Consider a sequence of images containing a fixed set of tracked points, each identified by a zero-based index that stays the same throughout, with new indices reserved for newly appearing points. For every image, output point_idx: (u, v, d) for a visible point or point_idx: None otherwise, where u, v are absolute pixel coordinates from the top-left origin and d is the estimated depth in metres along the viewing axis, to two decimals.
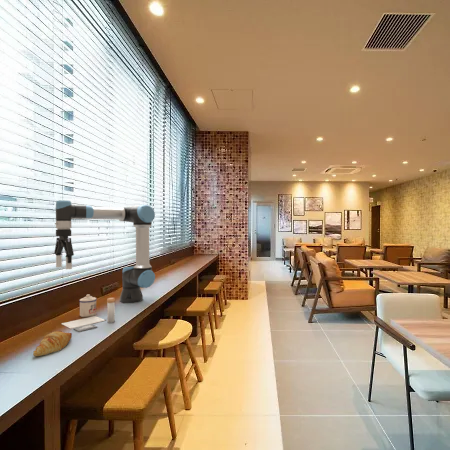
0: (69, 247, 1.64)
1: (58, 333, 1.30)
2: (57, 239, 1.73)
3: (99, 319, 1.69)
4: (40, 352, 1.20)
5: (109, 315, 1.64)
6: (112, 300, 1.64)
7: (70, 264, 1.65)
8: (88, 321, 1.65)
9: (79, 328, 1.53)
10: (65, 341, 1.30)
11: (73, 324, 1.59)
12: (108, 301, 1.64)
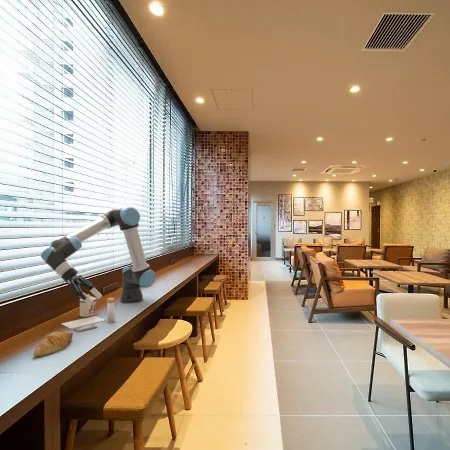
0: (72, 288, 1.56)
1: (58, 333, 1.29)
2: None
3: (99, 319, 1.69)
4: (40, 352, 1.20)
5: (109, 315, 1.64)
6: (112, 300, 1.64)
7: (88, 299, 1.57)
8: (88, 321, 1.65)
9: (79, 328, 1.53)
10: (65, 341, 1.29)
11: (73, 324, 1.59)
12: (108, 301, 1.64)
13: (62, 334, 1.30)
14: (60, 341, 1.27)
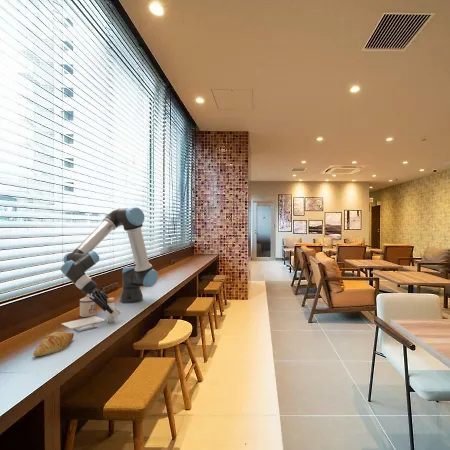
0: (98, 303, 1.60)
1: (59, 333, 1.29)
2: None
3: (99, 319, 1.69)
4: (40, 352, 1.20)
5: (109, 315, 1.64)
6: (112, 300, 1.64)
7: (114, 312, 1.63)
8: (88, 321, 1.65)
9: (79, 328, 1.53)
10: (66, 341, 1.29)
11: (73, 324, 1.59)
12: (108, 301, 1.64)
13: (63, 334, 1.30)
14: (60, 341, 1.27)
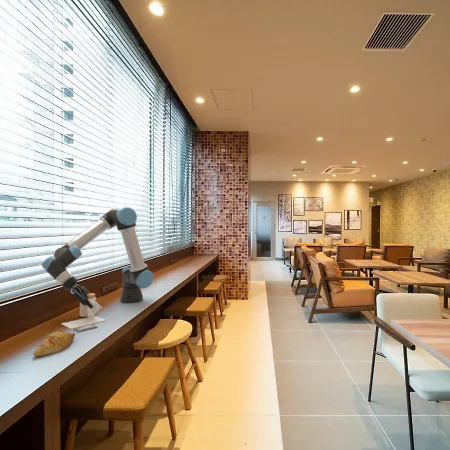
0: (78, 298, 1.64)
1: (60, 333, 1.29)
2: None
3: (99, 319, 1.69)
4: (40, 352, 1.20)
5: (89, 310, 1.68)
6: (92, 295, 1.68)
7: (94, 307, 1.67)
8: (88, 321, 1.65)
9: (79, 328, 1.53)
10: (66, 342, 1.29)
11: (73, 324, 1.59)
12: (88, 296, 1.68)
13: (63, 334, 1.29)
14: (61, 341, 1.27)
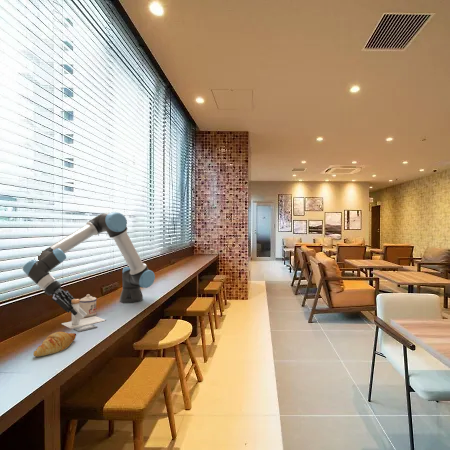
0: (61, 304, 1.54)
1: (60, 334, 1.29)
2: None
3: (99, 319, 1.69)
4: (40, 352, 1.20)
5: (73, 317, 1.58)
6: (76, 301, 1.58)
7: (78, 314, 1.57)
8: (88, 321, 1.65)
9: (79, 328, 1.53)
10: (67, 342, 1.28)
11: None
12: (72, 302, 1.58)
13: (64, 335, 1.29)
14: (61, 342, 1.26)
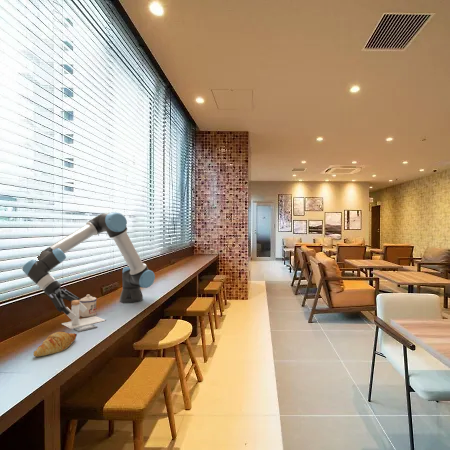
0: (55, 302, 1.51)
1: (60, 334, 1.29)
2: None
3: (99, 319, 1.69)
4: (40, 353, 1.20)
5: None
6: (76, 302, 1.58)
7: (71, 313, 1.52)
8: (88, 321, 1.65)
9: (79, 328, 1.53)
10: (67, 342, 1.28)
11: None
12: (72, 303, 1.58)
13: (64, 335, 1.29)
14: (61, 342, 1.26)
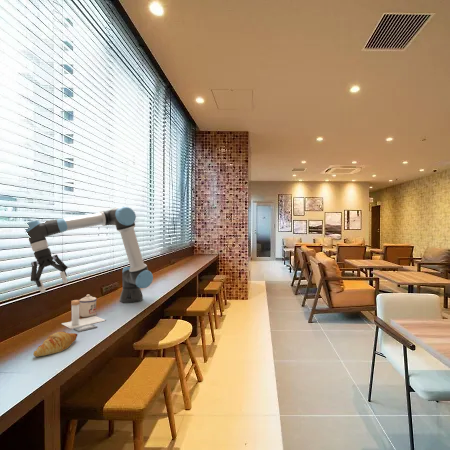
0: (32, 272, 1.58)
1: (61, 334, 1.29)
2: None
3: (99, 319, 1.69)
4: (40, 352, 1.20)
5: (73, 318, 1.58)
6: (76, 302, 1.58)
7: (42, 287, 1.59)
8: (88, 321, 1.65)
9: (79, 328, 1.53)
10: (67, 342, 1.28)
11: None
12: (72, 303, 1.58)
13: (64, 335, 1.29)
14: (61, 342, 1.26)
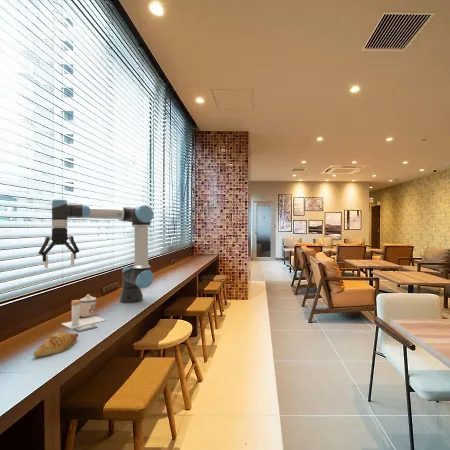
0: (42, 246, 1.65)
1: (61, 334, 1.28)
2: None
3: (99, 319, 1.69)
4: (40, 353, 1.19)
5: (73, 318, 1.58)
6: (76, 302, 1.58)
7: (45, 263, 1.65)
8: (88, 321, 1.65)
9: (79, 328, 1.53)
10: (67, 342, 1.28)
11: None
12: (72, 303, 1.58)
13: (64, 335, 1.29)
14: (62, 342, 1.26)
